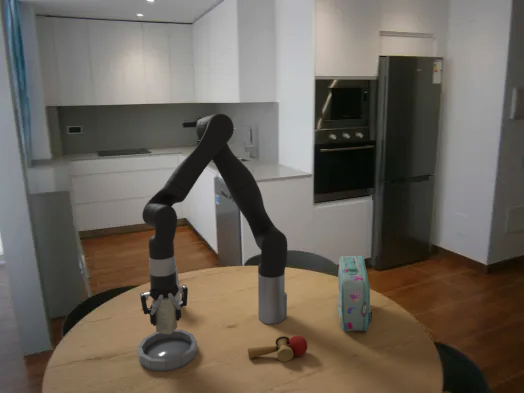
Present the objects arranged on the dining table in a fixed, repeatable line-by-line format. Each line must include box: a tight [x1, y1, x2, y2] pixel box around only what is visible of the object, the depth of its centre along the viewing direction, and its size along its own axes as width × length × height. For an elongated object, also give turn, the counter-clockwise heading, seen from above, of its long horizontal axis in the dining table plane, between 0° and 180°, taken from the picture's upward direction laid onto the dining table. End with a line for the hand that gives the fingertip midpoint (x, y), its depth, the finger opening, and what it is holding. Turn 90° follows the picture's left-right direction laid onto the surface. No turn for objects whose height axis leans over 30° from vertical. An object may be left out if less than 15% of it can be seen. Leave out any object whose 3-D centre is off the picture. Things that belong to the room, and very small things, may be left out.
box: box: [152, 297, 178, 334], centre depth 123 cm, size 5×4×11 cm
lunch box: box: [336, 255, 373, 332], centre depth 144 cm, size 27×10×21 cm, turn 173°
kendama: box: [247, 334, 308, 362], centre depth 124 cm, size 8×6×18 cm
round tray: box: [137, 328, 198, 372], centre depth 126 cm, size 17×17×3 cm
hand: (165, 321), depth 124 cm, fingers closed on box, 6 cm apart
